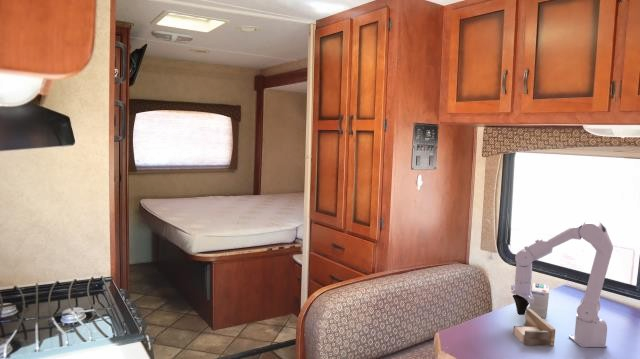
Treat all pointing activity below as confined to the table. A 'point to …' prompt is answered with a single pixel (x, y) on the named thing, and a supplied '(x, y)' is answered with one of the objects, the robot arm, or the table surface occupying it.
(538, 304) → the light bulb box
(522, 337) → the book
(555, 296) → the table surface
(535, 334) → the shelf
